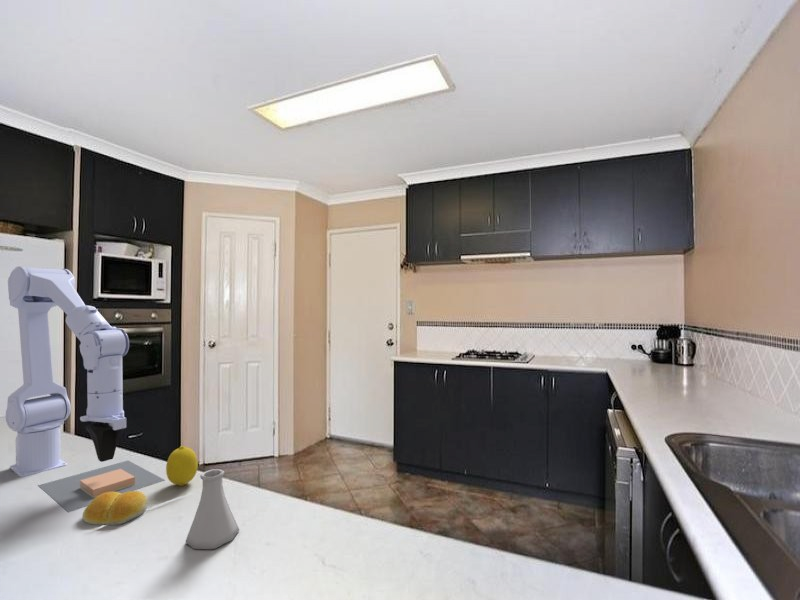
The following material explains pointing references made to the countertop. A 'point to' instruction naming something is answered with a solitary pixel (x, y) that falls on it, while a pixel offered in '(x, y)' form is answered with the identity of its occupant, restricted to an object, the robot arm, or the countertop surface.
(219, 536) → the flask
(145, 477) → the mat
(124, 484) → the tile
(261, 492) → the countertop surface
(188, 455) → the lemon
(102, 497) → the bread roll
